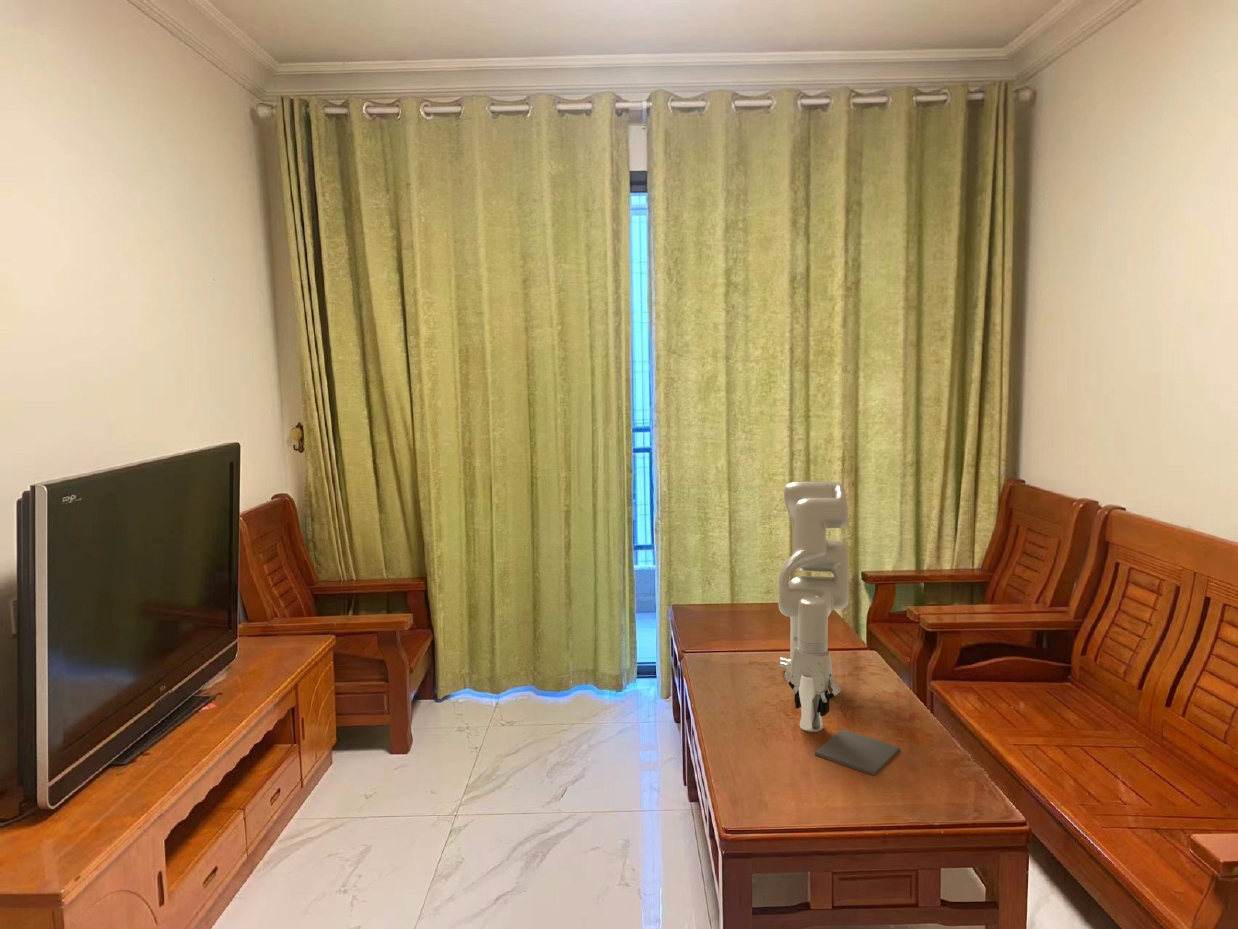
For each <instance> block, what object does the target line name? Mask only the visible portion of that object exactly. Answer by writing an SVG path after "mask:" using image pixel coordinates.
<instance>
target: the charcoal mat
mask: <svg viewBox="0 0 1238 929" xmlns="http://www.w3.org/2000/svg"><path fill="white" fill-rule="evenodd" d="M898 752H900V746H896V745H894V744H890V743H888V742H885V741H882V740H878V739H876V738H872V737H868V736H866V735H862V734H859V733H856V732H853V731H850V730H847V729H840V730H839V731H838V732H837V733H836V734H835V735H833V736H832V737H831V738H830V739H829V740H827V741H826V742H825V743H824V744H823V745H822V746H820V747H819V748H817V749H816V751H815V750H814V755H815V756H817V757H819V758H820V757H821V758H823V759H826V760H829V761H831V762H834V763H837V764H840V765H843V766H846V767H849V768H851V769H854V770H857V771H860V772H863V773H866V774H868V775H872V776H875V775H876V774H877V773H878V772H879V771H880V770H881V769H882V768H883V767H884V766H885V765H887V764H888V762H889V761H891V759H892V758H893V757H895V755H896V754H898Z"/></svg>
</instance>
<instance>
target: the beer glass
mask: <svg viewBox="0 0 1238 929" xmlns="http://www.w3.org/2000/svg"><path fill="white" fill-rule="evenodd" d="M798 692H799V700H800V705H801V707H800V711H801V713H800V714H801V716H800V722H799V727H800V729H801V730H803V731H805V732H808V733H818V732H821V731H823V729H824V724H823V717H822V716H821V715H820V702H821V701H822V698H821V693H818V692H815V691H814V685H813V678H812V677H807V676H804V675H801V680H800V687H798Z"/></svg>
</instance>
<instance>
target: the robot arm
mask: <svg viewBox="0 0 1238 929" xmlns="http://www.w3.org/2000/svg"><path fill="white" fill-rule="evenodd" d="M783 500H784V504H785V508H786V510H787V513H788V515H789V517H790V521H791V526H792V554H791V556H790V557H789V558H788V559H787V560H786V561H785V563H783V565H782V568H781V570H780V572H779V575H778V583H777V584H778V586H777V587H778V590H777V591H778V592H777V593H778V594H777V595H778V596H777V597H778V598H777V600H778V610H779V611H780V613H781V614H782V615H784V617H785V616H786V617H789V618H790V619H789V620H790V628H789V629H790V633H789V634H790V635H789V636H790V637H789V638H790V639H789V640H790V641H789V642H790V643H789V644H790V647H789V650H790V652H789V653H790V655H789V656H790V657H789V659H788V658H785V657H780V658H779V665H778V666H779V667H782V668H786V670H785V672H784V676H783V677H784V679H785V680H786V682H787V683H788V685H789V686H790V689H792V693H793V694H794V704H795V709H801V705H800V700H799V692H798V687H800V680H801V675H804V676H807V677H812V678H813V685H814V691H815V692H818V693H821V698H822V701H821V702H820V715H821V716H822V718H824V717H825V716H826V715H827V714H828V713H830V700H832V699H833V698H834V697H836V696H837V695H838V694H839V693H840V692H841V691H842V689H841V687H840V686H839V685H838V684H837V682H836V681H835V680H834V678H833V666H832V665H833V663H832V658H831V653H830V651H829V650H828V633H829V632H828V629H829V628H828V625H829V623H828V622H829V618H828V617H829V616H830V615H831V613H832V612H833V611H834V610H838V611H839V610H844V609H845V608H847V606H848V604H849V596H850V595H849V593H850V592H849V591H850V590H849V557H848V556H849V554H848V548H847V546H846V544H845V543H844V542H842V541H841V540H836V539H834V540H833V539H830V540H829V539H827V534H826V533H827V532H826V530H827V529H843V528H845V527H846V526H847V524H848V520H849V507H848V506H849V505H848V501H847V495H846V490H845V487H844V484H842V483H840V482H839V481H838V482H837V481H804V480H803V481H793V482H789V483H788V484H786V485H785V486H784V489H783ZM796 570H798V571H801V572H810V573H811V572H812V573H830V574H831V575H832V576H819V575H818V576H817V575H816V576H814V575H812V576H811V575H800V576H794V577H793V578H792V579H790V577H791V575H792V573H793V572H794V571H796ZM830 688H831V689H832V691H830Z"/></svg>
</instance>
